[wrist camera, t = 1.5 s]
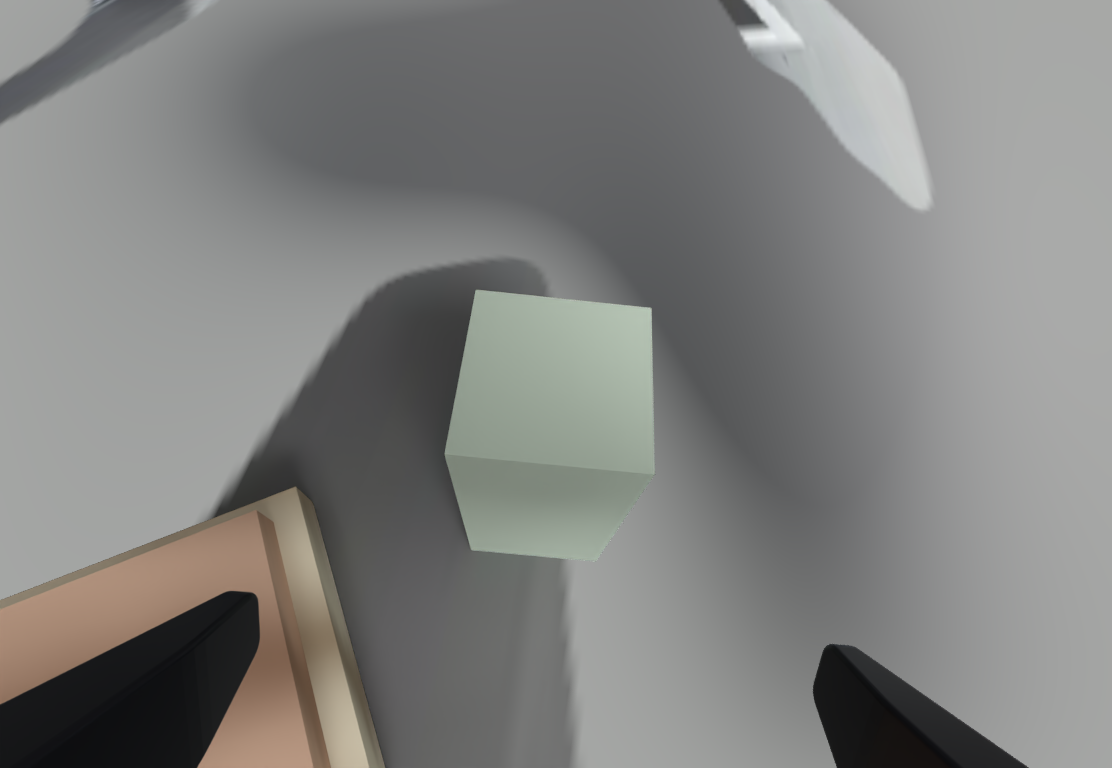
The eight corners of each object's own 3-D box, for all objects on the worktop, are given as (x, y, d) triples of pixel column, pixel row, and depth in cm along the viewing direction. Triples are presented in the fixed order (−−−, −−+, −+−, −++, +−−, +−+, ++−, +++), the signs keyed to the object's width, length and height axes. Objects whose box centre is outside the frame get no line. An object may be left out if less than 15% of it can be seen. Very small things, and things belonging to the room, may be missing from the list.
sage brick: (595, 561, 21) (654, 474, 13) (471, 550, 21) (444, 454, 13) (599, 446, 24) (651, 308, 15) (488, 435, 24) (475, 289, 15)
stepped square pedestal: (396, 810, 17) (372, 836, 14) (-15, 1046, 14) (-160, 1146, 11) (312, 502, 22) (280, 472, 19) (-10, 630, 19) (-112, 619, 16)
